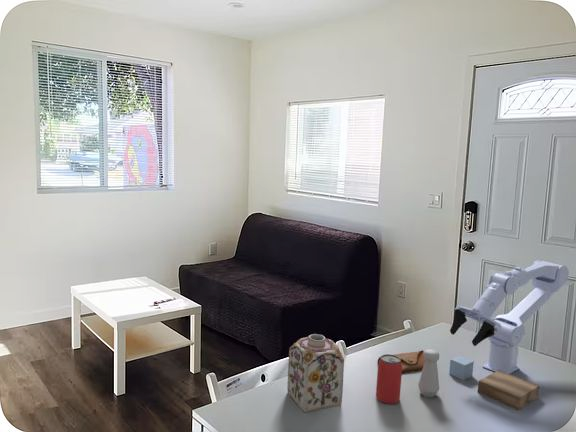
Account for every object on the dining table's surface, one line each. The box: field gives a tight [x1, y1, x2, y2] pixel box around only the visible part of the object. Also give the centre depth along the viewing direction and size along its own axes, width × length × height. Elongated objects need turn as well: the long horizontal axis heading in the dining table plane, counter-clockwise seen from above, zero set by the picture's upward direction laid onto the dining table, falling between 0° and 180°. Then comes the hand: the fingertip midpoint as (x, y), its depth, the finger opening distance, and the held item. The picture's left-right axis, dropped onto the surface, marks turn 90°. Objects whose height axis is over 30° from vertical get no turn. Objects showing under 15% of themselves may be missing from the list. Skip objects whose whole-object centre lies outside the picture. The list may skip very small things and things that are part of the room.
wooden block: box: [477, 370, 540, 411], centre depth 140 cm, size 12×12×4 cm
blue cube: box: [448, 355, 475, 381], centre depth 152 cm, size 5×5×5 cm
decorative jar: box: [286, 333, 345, 413], centre depth 132 cm, size 12×12×18 cm
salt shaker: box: [418, 348, 440, 398], centre depth 138 cm, size 6×6×13 cm
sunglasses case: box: [376, 349, 425, 374], centre depth 157 cm, size 18×7×7 cm, turn 113°
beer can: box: [375, 353, 403, 405], centre depth 135 cm, size 7×7×12 cm
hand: (462, 338), depth 146 cm, fingers open, 7 cm apart
